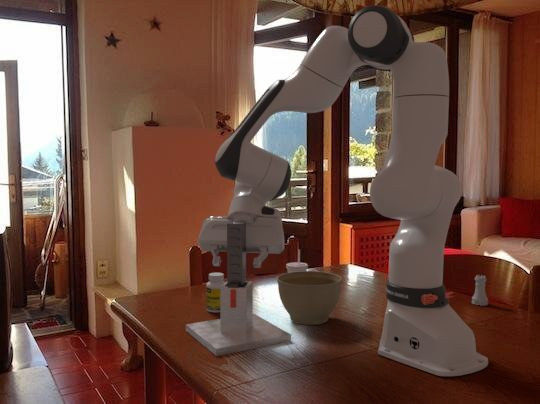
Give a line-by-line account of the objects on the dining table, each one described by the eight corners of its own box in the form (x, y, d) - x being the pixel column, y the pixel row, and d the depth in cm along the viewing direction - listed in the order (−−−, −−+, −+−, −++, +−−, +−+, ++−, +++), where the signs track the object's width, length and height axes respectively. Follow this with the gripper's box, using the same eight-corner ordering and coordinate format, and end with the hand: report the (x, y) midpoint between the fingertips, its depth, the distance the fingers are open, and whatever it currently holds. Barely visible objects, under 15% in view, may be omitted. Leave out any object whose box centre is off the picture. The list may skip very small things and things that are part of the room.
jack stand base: (253, 319, 130) (253, 269, 129) (291, 341, 115) (291, 284, 114) (185, 330, 121) (185, 277, 120) (216, 356, 106) (215, 294, 105)
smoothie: (308, 299, 148) (308, 251, 147) (286, 299, 149) (286, 251, 147) (307, 294, 155) (307, 247, 154) (285, 293, 155) (286, 247, 154)
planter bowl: (322, 308, 140) (323, 268, 139) (353, 325, 125) (353, 281, 124) (267, 314, 135) (267, 273, 134) (292, 333, 120) (292, 287, 119)
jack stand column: (246, 325, 119) (246, 222, 117) (242, 330, 115) (242, 224, 113) (231, 324, 120) (230, 221, 118) (226, 329, 116) (225, 223, 114)
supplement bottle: (202, 311, 137) (202, 274, 136) (213, 306, 142) (213, 271, 141) (219, 314, 135) (219, 277, 134) (230, 308, 139) (230, 273, 139)
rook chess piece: (485, 302, 147) (486, 274, 146) (490, 306, 142) (491, 277, 142) (469, 301, 147) (470, 273, 146) (473, 306, 143) (474, 277, 142)
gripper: (201, 208, 124) (188, 255, 116) (285, 210, 121) (278, 259, 112) (207, 224, 129) (195, 271, 120) (288, 226, 125) (281, 275, 117)
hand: (236, 265), depth 116 cm, fingers open, 8 cm apart
